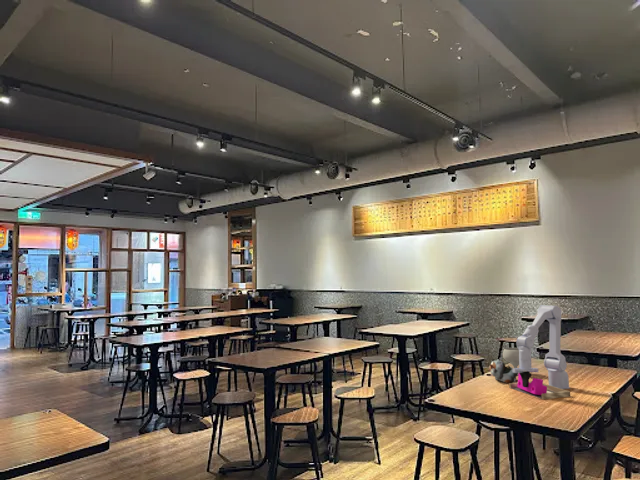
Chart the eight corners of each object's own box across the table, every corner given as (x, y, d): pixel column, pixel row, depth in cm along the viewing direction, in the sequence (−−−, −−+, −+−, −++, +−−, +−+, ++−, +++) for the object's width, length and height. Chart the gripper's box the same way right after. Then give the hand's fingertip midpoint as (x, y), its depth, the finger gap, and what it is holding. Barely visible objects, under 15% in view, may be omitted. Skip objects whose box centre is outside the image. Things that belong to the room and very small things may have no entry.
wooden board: (534, 385, 245) (534, 380, 245) (570, 396, 222) (570, 391, 222) (509, 387, 240) (509, 383, 240) (543, 399, 217) (543, 394, 217)
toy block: (546, 395, 223) (547, 380, 224) (534, 394, 222) (536, 378, 223) (528, 388, 238) (529, 374, 238) (517, 387, 237) (518, 372, 238)
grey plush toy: (514, 384, 247) (500, 362, 248) (495, 390, 254) (482, 368, 256) (521, 372, 258) (508, 350, 260) (502, 377, 266) (490, 356, 268)
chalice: (513, 370, 284) (512, 346, 285) (533, 374, 272) (531, 349, 273) (498, 373, 277) (497, 348, 278) (518, 377, 265) (517, 351, 266)
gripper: (518, 361, 224) (519, 389, 223) (542, 360, 228) (543, 388, 227) (509, 359, 231) (509, 386, 230) (532, 358, 235) (533, 385, 234)
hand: (525, 386), depth 229 cm, fingers closed, pressing on toy block
